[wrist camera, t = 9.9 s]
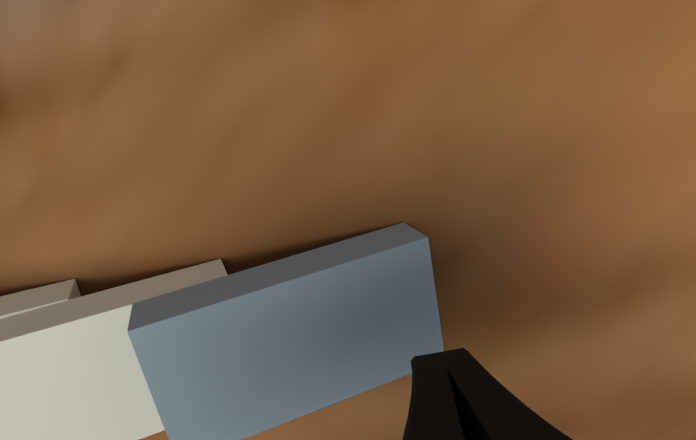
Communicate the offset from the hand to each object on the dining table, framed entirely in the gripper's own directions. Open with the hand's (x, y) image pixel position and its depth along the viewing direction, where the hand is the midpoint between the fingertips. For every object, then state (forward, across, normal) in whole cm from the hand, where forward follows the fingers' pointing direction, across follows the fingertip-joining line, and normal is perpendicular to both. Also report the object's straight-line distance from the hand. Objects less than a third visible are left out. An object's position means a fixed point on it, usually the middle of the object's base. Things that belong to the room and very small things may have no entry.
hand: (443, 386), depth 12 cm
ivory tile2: (+5, +6, 0) cm, 8 cm away
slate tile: (+5, 0, 0) cm, 5 cm away
